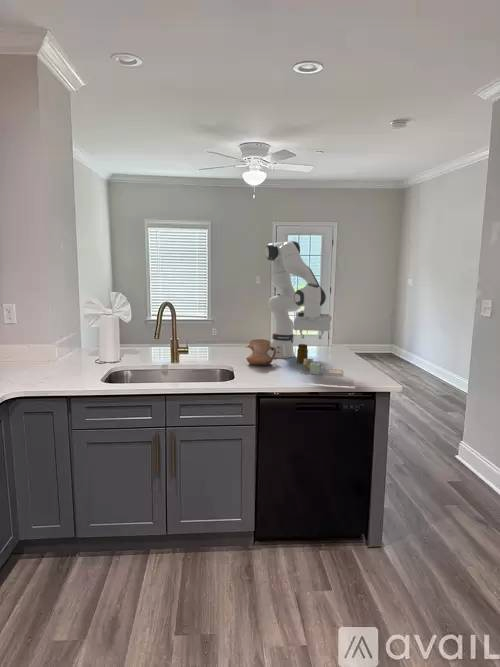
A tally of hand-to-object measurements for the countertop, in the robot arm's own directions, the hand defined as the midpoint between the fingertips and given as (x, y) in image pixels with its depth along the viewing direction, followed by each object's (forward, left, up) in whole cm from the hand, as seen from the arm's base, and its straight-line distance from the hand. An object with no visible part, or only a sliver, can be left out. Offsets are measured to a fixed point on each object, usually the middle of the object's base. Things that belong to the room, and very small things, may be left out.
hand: (311, 338), depth 238 cm
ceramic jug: (-29, +6, -18) cm, 35 cm away
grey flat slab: (+7, -5, -18) cm, 20 cm away
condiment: (-5, +12, -18) cm, 22 cm away
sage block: (+3, -9, -17) cm, 20 cm away
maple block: (-1, 0, -17) cm, 17 cm away
